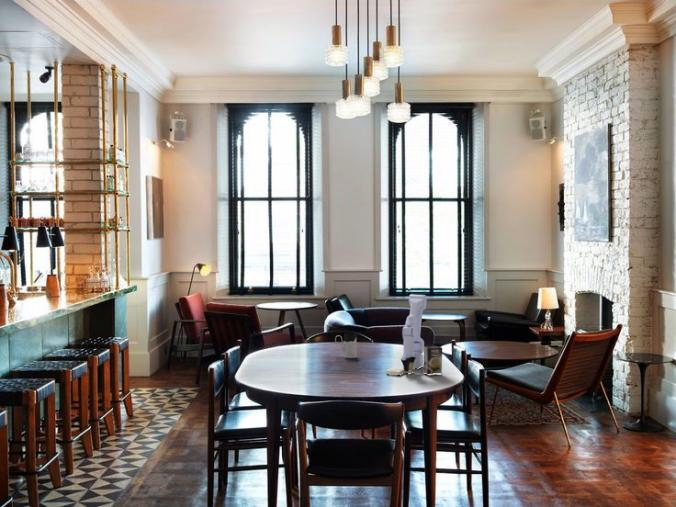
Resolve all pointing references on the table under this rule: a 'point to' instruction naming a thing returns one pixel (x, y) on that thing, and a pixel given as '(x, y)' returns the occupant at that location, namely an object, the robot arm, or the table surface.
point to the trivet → (394, 371)
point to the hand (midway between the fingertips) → (408, 370)
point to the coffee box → (432, 359)
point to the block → (410, 368)
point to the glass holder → (349, 345)
